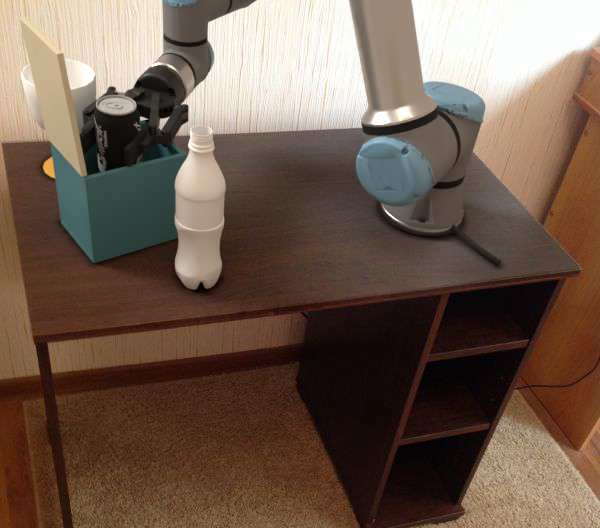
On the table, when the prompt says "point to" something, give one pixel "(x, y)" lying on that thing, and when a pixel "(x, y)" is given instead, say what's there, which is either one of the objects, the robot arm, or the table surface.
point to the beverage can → (115, 130)
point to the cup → (81, 91)
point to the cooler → (119, 201)
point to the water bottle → (199, 212)
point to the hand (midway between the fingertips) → (103, 151)
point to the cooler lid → (53, 94)
